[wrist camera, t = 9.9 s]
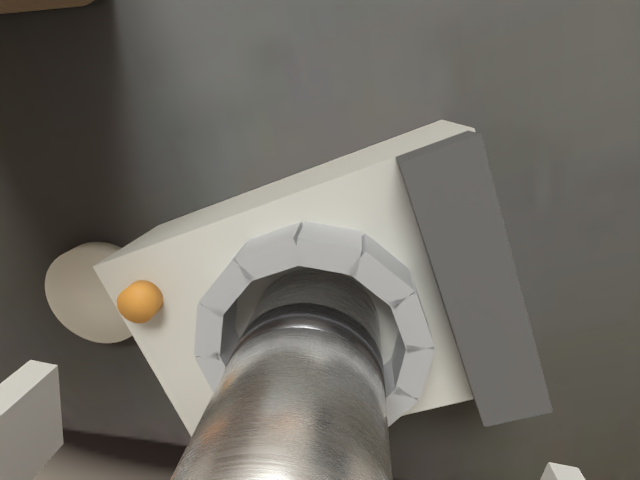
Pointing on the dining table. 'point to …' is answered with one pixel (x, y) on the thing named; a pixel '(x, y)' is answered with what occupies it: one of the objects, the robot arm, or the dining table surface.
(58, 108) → the dining table surface
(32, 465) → the robot arm
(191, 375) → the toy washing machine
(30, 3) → the wooden block
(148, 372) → the dining table surface
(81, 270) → the rear cap
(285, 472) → the grey tall rounded cylinder
